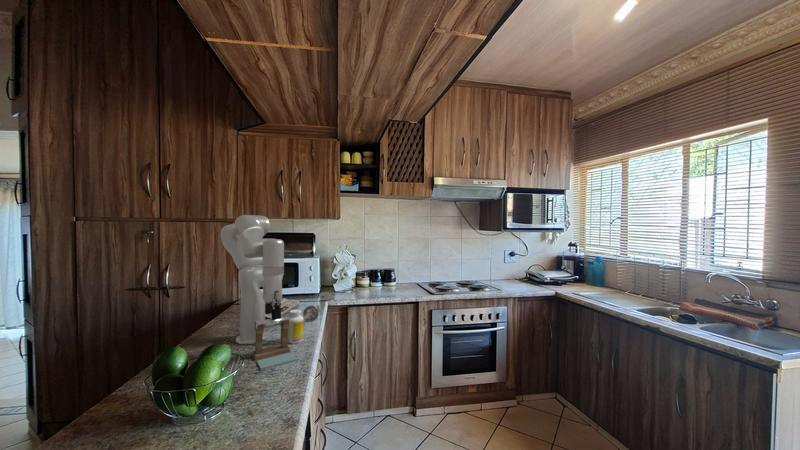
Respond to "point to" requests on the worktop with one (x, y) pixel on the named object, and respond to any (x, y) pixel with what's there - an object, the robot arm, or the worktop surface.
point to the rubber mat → (276, 360)
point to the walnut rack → (273, 350)
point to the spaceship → (311, 313)
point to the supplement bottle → (295, 327)
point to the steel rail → (271, 322)
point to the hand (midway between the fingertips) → (272, 316)
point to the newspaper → (285, 306)
